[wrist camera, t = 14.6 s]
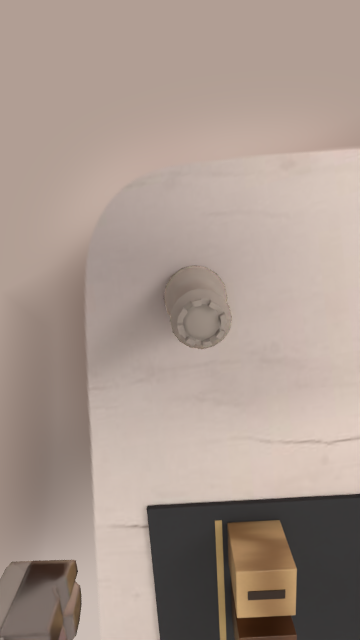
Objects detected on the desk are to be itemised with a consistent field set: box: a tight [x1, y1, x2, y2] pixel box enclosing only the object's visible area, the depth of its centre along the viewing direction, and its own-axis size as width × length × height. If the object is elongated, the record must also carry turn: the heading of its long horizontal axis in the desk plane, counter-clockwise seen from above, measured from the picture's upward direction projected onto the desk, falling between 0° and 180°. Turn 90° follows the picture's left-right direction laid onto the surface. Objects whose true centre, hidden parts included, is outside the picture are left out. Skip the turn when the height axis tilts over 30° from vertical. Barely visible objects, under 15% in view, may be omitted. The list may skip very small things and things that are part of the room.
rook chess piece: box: [164, 266, 232, 349], centre depth 21 cm, size 4×4×8 cm
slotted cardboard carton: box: [227, 520, 297, 618], centre depth 28 cm, size 4×4×5 cm
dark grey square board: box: [147, 495, 360, 640], centre depth 32 cm, size 20×20×1 cm
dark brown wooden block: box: [231, 583, 297, 640], centre depth 29 cm, size 4×4×5 cm
